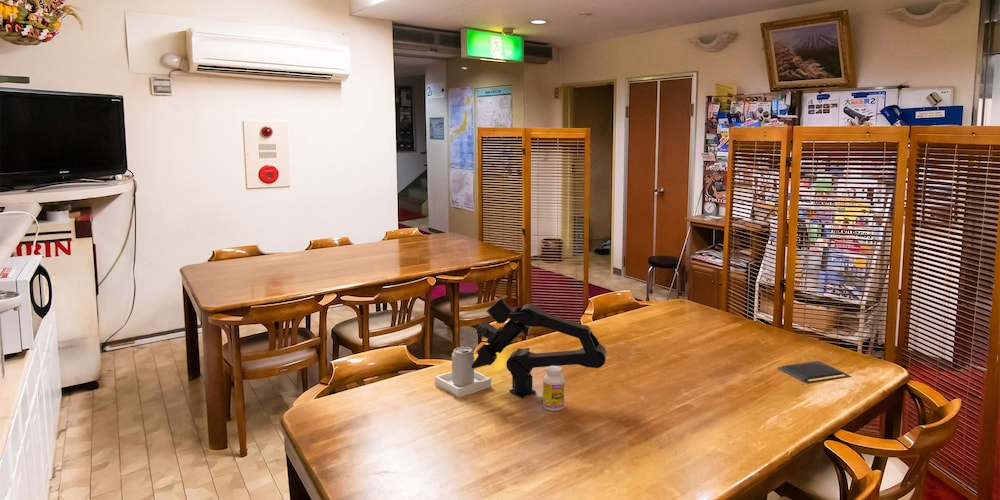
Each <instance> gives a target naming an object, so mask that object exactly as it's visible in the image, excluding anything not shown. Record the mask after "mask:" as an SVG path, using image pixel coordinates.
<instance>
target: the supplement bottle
mask: <svg viewBox="0 0 1000 500" xmlns="http://www.w3.org/2000/svg"><path fill="white" fill-rule="evenodd" d="M562 373H563V368H562V367H561V366H549V367H546V374H545V375H544V376H543V379H542V381H543V384H542V386H543V387H542V406H543V408H544V409H545V410H547V411H549V412H550V411H551V412H558V411H561V410H563V409H564V407H565V382H566V381H565V380H566V379H565V377H564V375H563V374H562Z"/></svg>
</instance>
